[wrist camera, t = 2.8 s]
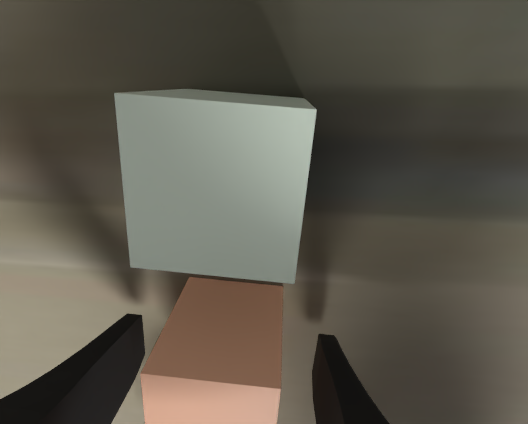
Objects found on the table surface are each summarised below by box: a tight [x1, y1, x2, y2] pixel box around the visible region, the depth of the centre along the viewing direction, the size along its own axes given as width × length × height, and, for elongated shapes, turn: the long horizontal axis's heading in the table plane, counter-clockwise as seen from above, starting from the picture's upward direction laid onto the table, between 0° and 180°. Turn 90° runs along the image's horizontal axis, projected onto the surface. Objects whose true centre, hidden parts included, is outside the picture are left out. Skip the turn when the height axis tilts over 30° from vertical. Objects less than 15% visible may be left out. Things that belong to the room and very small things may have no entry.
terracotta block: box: [141, 277, 283, 424], centre depth 12 cm, size 4×4×5 cm
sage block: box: [114, 89, 317, 284], centre depth 9 cm, size 4×4×5 cm
